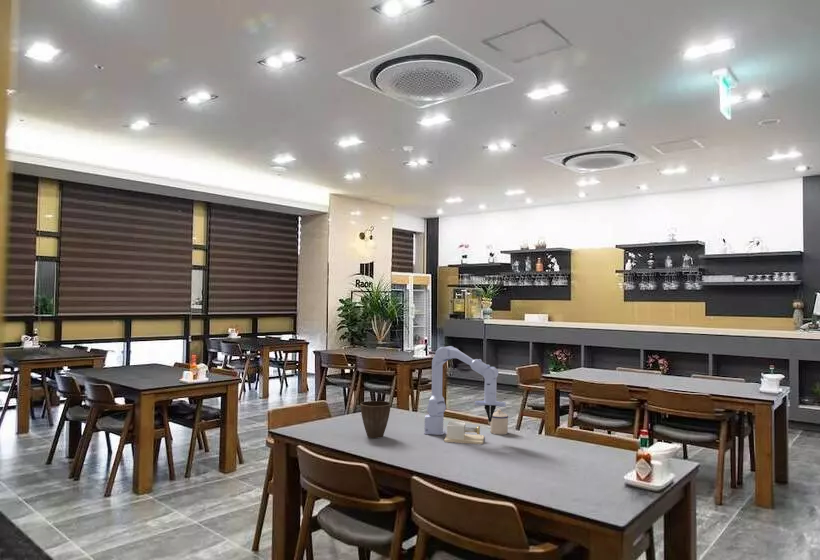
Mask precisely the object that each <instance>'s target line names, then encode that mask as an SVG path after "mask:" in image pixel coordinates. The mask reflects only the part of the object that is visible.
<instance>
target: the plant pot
mask: <svg viewBox="0 0 820 560" xmlns="http://www.w3.org/2000/svg"><path fill="white" fill-rule="evenodd" d="M359 404H360V412H361V419H362V423H363V426H364V430H365V434H366V436H367V437H368V438H370V439H381V438H383V437H384V434H385V431H386V428H387V425H388V421H389V419H390V417H389V416H390V413H391V406H392V403H391V402H389V401H385V400H384V401H382V400H381V401H380V400H370V401H368V400H367V401H362V402H360V403H359Z"/></svg>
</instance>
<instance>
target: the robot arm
mask: <svg viewBox="0 0 820 560" xmlns="http://www.w3.org/2000/svg"><path fill="white" fill-rule="evenodd" d="M451 359H458V361H461V362H463V363H465V364H467V365H468V366H470V369H471V370H473V372H476V373H477V374H479V375H481V376H482V377H483V378H484V390H483V393H484V395H483V398H484V399H483V400H475V401H474V406H475V407H476V406H479V407H480V406H483V407H484V410H485V413H486V415H487V422H491V421H492V416H493V413H495V412H496V411H495V410H496V409H497V408H496V407H504V408H506V407H507V405H506V402H505V401H497V378H498V377H499V371H498V368H497V367H496V366H491V365H490V364H487V363H485V362H483V360H482V359H481V358H479V359H478V358H475V359H474V358H472V357H470V356H469V355H467V354H466V353H464V352H462V351H461V350H459V348H457V347H454V346H453V345H448V346H440V347H439V348H438V349H436V350H435V354H434V356H433V358H432V360H431V395H430V398H429V400H428V404H427V407H426V411H427V414H425V416H424V431H423V432H424V434H425V435H438V436H440V435H441V436H443V435H444V434H445V432H446V431H445V430H444V417H445V416H444V415H445V411H446V410H447V405H446V402H445V397H444V396H443V376H444V375H443V371H444V370H443V368H444V367H443V366H444V364H445V363H446V362H447V361H449V360H451Z"/></svg>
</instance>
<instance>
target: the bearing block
mask: <svg viewBox="0 0 820 560" xmlns="http://www.w3.org/2000/svg"><path fill="white" fill-rule="evenodd" d="M464 427H466V422H460V421H459V422H456V421H449V422H448V424H447V425H446V435H445V438H444V439H443V442H444V443H453V442H455V443H457V444H458V443H459V444H472V445H473V444H474V445H483V444H484V439H485V435H483V434H480V435H479V434H469V433H467V434H466V432H464Z"/></svg>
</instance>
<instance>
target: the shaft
mask: <svg viewBox="0 0 820 560" xmlns="http://www.w3.org/2000/svg"><path fill="white" fill-rule="evenodd" d="M464 432H465V433H472V434H473V433H474V434H476V435H481V433H480V432H481V427H480V426H479V425H478V426H476V427H474V426H473V427H471V426H469V427H468V426H465V427H464Z"/></svg>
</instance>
